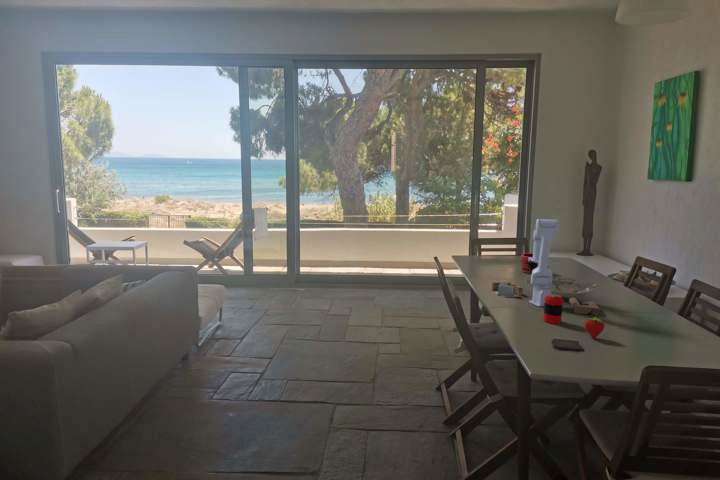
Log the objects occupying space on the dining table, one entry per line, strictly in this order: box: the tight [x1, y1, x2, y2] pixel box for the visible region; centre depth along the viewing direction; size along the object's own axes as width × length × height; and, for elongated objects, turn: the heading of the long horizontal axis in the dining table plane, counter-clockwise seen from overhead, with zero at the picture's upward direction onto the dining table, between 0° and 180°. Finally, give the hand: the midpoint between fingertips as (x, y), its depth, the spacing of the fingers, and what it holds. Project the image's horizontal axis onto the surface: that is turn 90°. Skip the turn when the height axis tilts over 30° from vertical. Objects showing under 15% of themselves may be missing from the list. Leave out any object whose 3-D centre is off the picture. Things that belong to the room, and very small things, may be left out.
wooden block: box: [568, 296, 601, 316], centre depth 240 cm, size 4×11×18 cm
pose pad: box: [494, 291, 519, 298], centre depth 266 cm, size 10×9×1 cm
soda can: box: [542, 293, 564, 325], centre depth 219 cm, size 8×8×12 cm
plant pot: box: [520, 252, 538, 274], centre depth 322 cm, size 13×13×12 cm
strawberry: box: [584, 315, 605, 339], centre depth 199 cm, size 6×8×10 cm
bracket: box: [497, 283, 515, 298], centre depth 265 cm, size 9×8×5 cm
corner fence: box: [491, 281, 523, 297], centre depth 268 cm, size 13×11×4 cm
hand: (536, 276), depth 266 cm, fingers open, 7 cm apart
